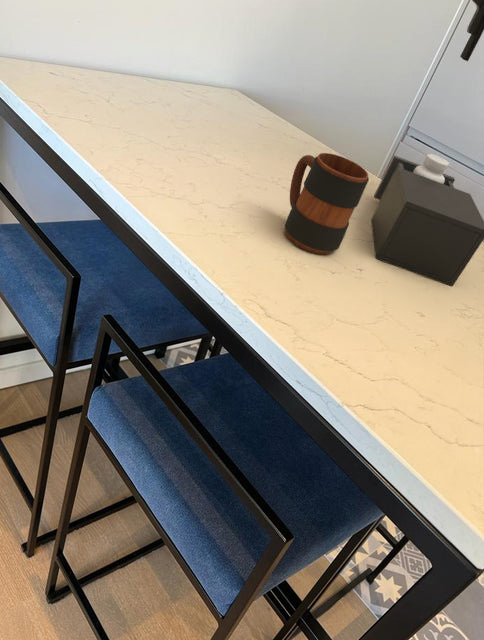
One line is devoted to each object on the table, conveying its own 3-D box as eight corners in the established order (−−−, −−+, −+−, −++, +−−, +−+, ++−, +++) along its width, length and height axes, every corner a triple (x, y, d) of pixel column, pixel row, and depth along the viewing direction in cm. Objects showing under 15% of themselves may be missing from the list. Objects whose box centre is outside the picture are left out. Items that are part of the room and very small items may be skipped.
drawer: (372, 186, 109) (391, 146, 104) (427, 206, 109) (449, 168, 104) (377, 225, 94) (400, 181, 89) (441, 249, 95) (468, 206, 90)
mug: (298, 212, 91) (328, 141, 84) (348, 254, 84) (385, 181, 77) (257, 214, 86) (285, 138, 78) (307, 258, 79) (342, 180, 72)
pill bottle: (422, 223, 98) (453, 169, 92) (393, 210, 99) (422, 156, 93) (424, 212, 102) (453, 161, 96) (396, 200, 103) (424, 148, 97)
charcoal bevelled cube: (371, 219, 98) (397, 167, 92) (439, 244, 98) (470, 193, 92) (375, 258, 86) (406, 201, 80) (452, 286, 87) (489, 231, 81)
